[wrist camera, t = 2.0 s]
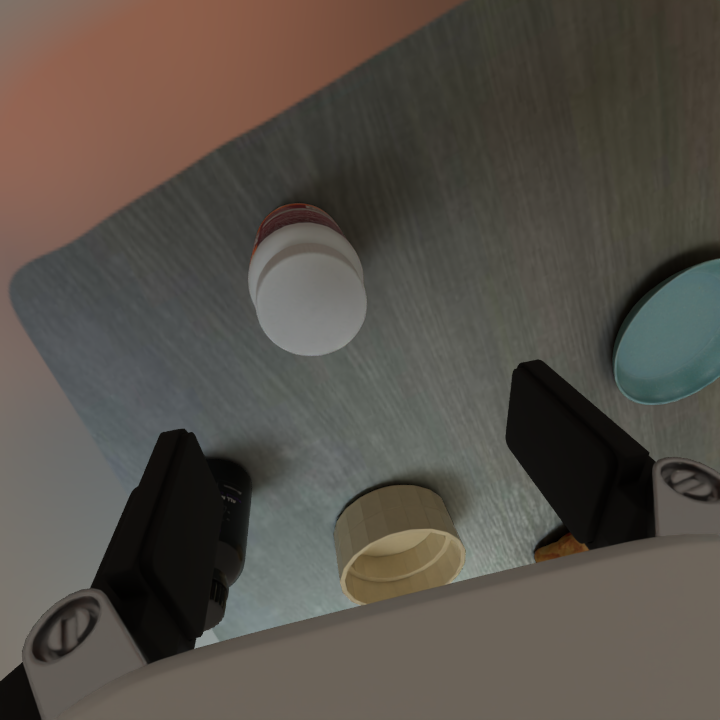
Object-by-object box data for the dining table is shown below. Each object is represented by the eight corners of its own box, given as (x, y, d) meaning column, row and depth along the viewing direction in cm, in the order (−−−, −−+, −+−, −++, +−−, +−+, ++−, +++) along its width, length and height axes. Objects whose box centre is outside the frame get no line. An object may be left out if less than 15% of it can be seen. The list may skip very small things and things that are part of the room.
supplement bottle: (238, 447, 35) (221, 576, 25) (261, 496, 38) (255, 626, 28) (163, 467, 34) (113, 606, 24) (193, 515, 38) (161, 653, 28)
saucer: (759, 226, 33) (794, 232, 31) (721, 363, 41) (747, 376, 39) (599, 281, 33) (622, 292, 31) (591, 408, 41) (609, 424, 38)
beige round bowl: (342, 567, 47) (350, 620, 42) (324, 496, 40) (331, 548, 35) (444, 542, 48) (464, 590, 43) (443, 469, 41) (467, 515, 36)
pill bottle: (239, 220, 26) (215, 270, 16) (325, 187, 26) (353, 217, 16) (278, 301, 29) (277, 383, 19) (354, 272, 29) (392, 339, 19)
